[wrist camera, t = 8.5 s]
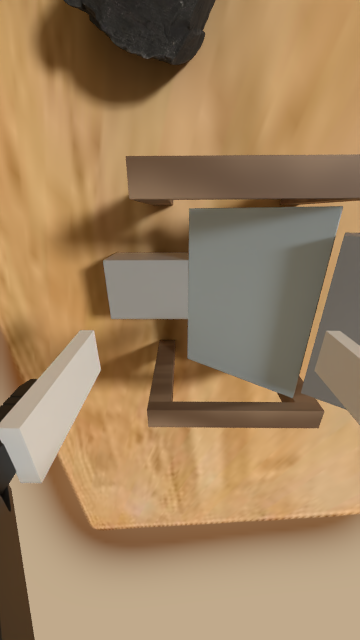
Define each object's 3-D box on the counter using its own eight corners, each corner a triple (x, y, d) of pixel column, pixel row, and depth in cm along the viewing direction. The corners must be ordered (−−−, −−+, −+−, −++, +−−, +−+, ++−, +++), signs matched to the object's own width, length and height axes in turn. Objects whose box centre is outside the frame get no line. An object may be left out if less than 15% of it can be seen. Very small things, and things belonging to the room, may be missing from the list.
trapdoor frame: (152, 182, 23) (125, 156, 12) (304, 182, 23) (413, 154, 12) (160, 352, 32) (148, 426, 21) (271, 353, 31) (318, 428, 20)
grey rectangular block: (187, 252, 26) (116, 252, 26) (188, 260, 22) (102, 260, 22) (187, 302, 29) (122, 302, 29) (188, 318, 24) (111, 318, 24)
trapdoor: (201, 208, 21) (182, 208, 19) (437, 205, 13) (454, 204, 11) (196, 350, 28) (182, 362, 25) (354, 405, 20) (354, 430, 17)
